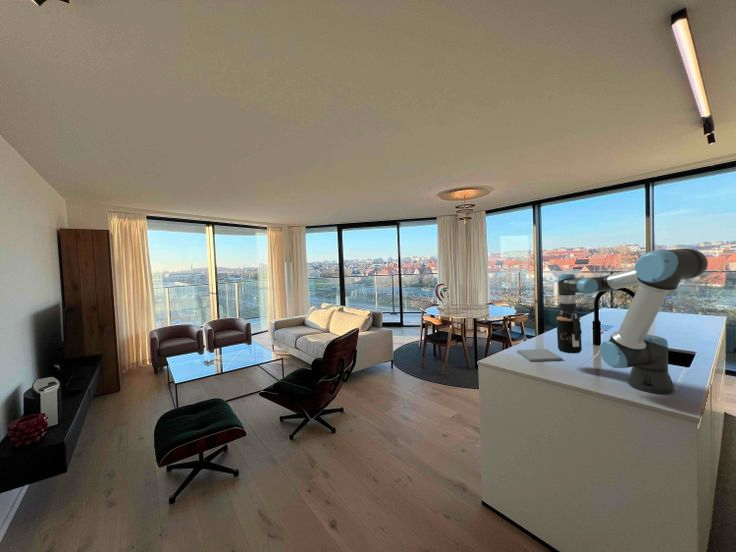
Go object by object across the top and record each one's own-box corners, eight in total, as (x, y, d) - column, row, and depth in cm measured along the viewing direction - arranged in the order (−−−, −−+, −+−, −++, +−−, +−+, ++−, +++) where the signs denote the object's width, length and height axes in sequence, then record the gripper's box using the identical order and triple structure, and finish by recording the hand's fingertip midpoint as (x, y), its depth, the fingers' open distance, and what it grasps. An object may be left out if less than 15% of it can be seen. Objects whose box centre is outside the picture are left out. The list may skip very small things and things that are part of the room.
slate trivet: (562, 360, 172) (562, 358, 172) (530, 361, 174) (529, 359, 173) (546, 350, 190) (545, 348, 190) (516, 352, 191) (516, 350, 191)
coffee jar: (558, 353, 159) (557, 319, 159) (557, 347, 169) (555, 315, 168) (583, 354, 154) (581, 319, 154) (580, 348, 164) (578, 316, 163)
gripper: (589, 305, 149) (591, 349, 150) (562, 299, 172) (564, 338, 173) (573, 305, 149) (575, 349, 150) (548, 300, 172) (550, 338, 173)
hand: (569, 343), depth 161 cm, fingers closed on coffee jar, 11 cm apart
